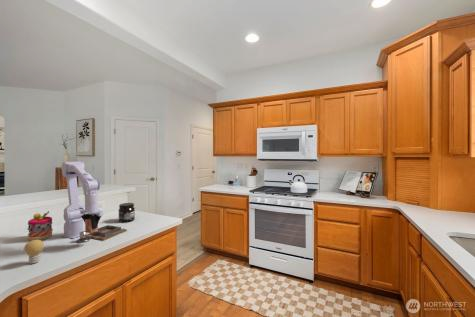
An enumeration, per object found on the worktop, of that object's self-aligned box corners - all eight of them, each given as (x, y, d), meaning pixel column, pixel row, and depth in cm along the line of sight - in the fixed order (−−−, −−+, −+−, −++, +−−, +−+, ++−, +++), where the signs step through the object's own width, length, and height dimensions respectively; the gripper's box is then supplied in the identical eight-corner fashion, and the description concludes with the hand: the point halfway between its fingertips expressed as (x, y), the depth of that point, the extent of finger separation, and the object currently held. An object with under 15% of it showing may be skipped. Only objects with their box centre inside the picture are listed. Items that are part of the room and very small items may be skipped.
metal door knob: (73, 242, 118) (73, 233, 118) (84, 238, 124) (84, 229, 124) (81, 243, 116) (81, 234, 116) (92, 239, 122) (92, 230, 122)
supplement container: (120, 219, 160) (120, 203, 159) (135, 217, 163) (135, 202, 163) (117, 223, 150) (116, 206, 149) (133, 222, 153) (133, 205, 152)
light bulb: (47, 258, 100) (47, 237, 100) (35, 266, 93) (34, 243, 93) (33, 258, 100) (33, 237, 99) (20, 266, 93) (19, 243, 93)
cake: (25, 243, 117) (24, 215, 116) (30, 236, 126) (30, 211, 125) (50, 239, 122) (50, 212, 122) (54, 233, 131) (53, 208, 131)
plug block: (85, 232, 114) (85, 219, 114) (92, 229, 118) (92, 217, 118) (90, 233, 113) (90, 220, 113) (97, 230, 117) (97, 217, 117)
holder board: (84, 237, 125) (84, 232, 125) (108, 228, 141) (108, 223, 141) (103, 240, 121) (103, 235, 121) (126, 230, 136) (126, 226, 136)
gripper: (74, 203, 114) (74, 228, 114) (94, 205, 109) (94, 232, 109) (87, 200, 120) (87, 224, 121) (106, 202, 116) (106, 227, 116)
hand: (91, 227), depth 116 cm, fingers closed on plug block, 4 cm apart
